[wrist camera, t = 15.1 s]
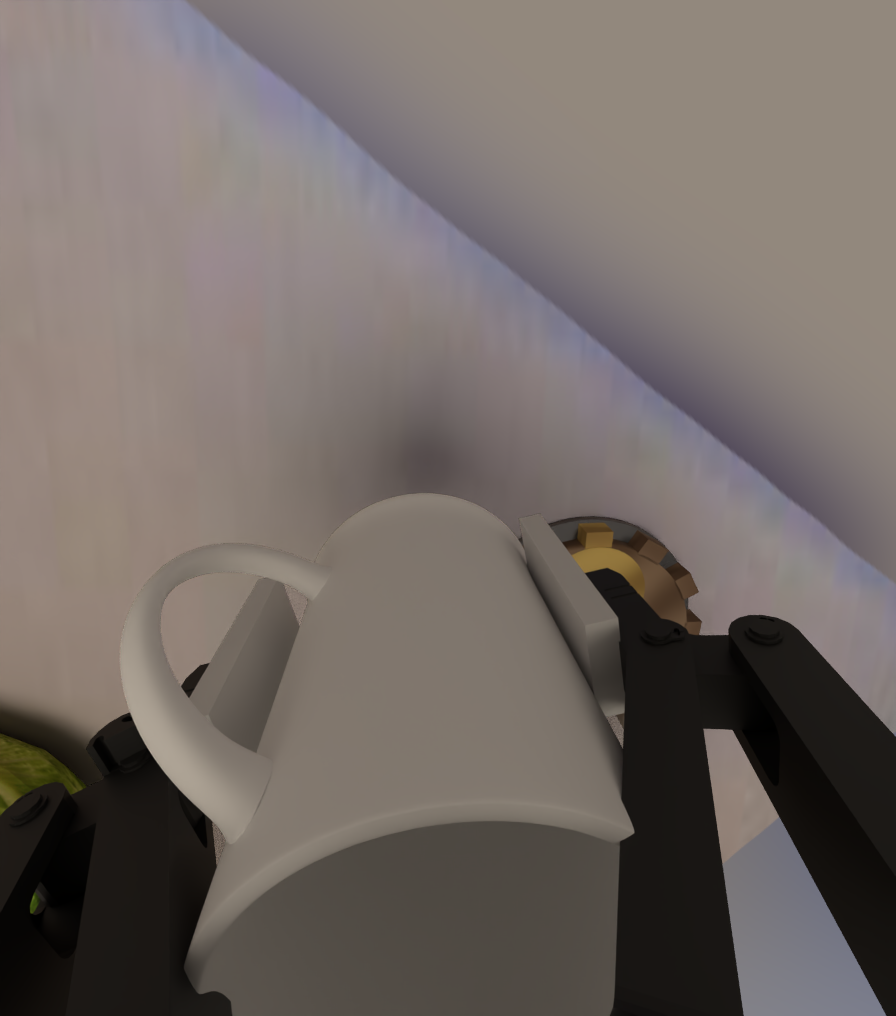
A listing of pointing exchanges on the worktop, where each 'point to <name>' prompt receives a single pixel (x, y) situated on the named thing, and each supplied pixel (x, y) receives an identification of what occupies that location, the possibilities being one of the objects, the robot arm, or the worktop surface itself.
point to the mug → (400, 783)
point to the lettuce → (30, 775)
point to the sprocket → (638, 571)
